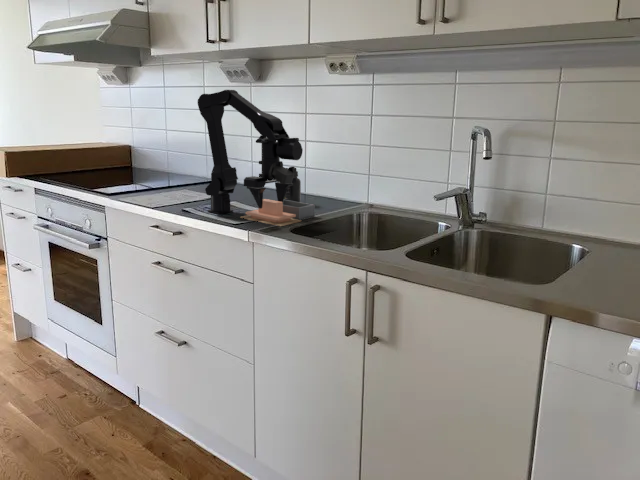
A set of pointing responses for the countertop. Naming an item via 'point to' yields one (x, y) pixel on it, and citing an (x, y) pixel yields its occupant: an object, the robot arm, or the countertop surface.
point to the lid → (271, 212)
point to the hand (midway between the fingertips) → (270, 206)
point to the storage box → (299, 209)
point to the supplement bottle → (294, 191)
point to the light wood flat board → (271, 221)
